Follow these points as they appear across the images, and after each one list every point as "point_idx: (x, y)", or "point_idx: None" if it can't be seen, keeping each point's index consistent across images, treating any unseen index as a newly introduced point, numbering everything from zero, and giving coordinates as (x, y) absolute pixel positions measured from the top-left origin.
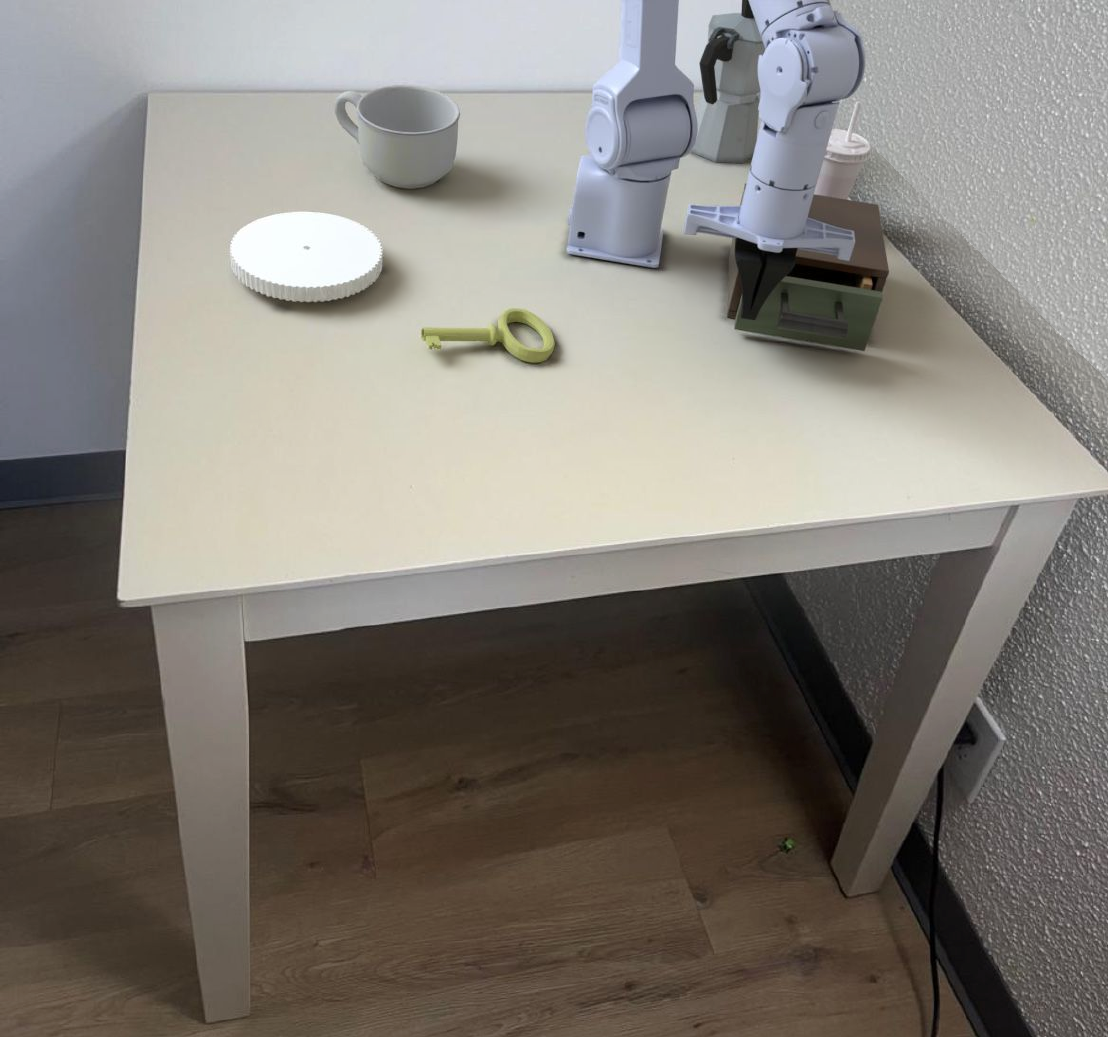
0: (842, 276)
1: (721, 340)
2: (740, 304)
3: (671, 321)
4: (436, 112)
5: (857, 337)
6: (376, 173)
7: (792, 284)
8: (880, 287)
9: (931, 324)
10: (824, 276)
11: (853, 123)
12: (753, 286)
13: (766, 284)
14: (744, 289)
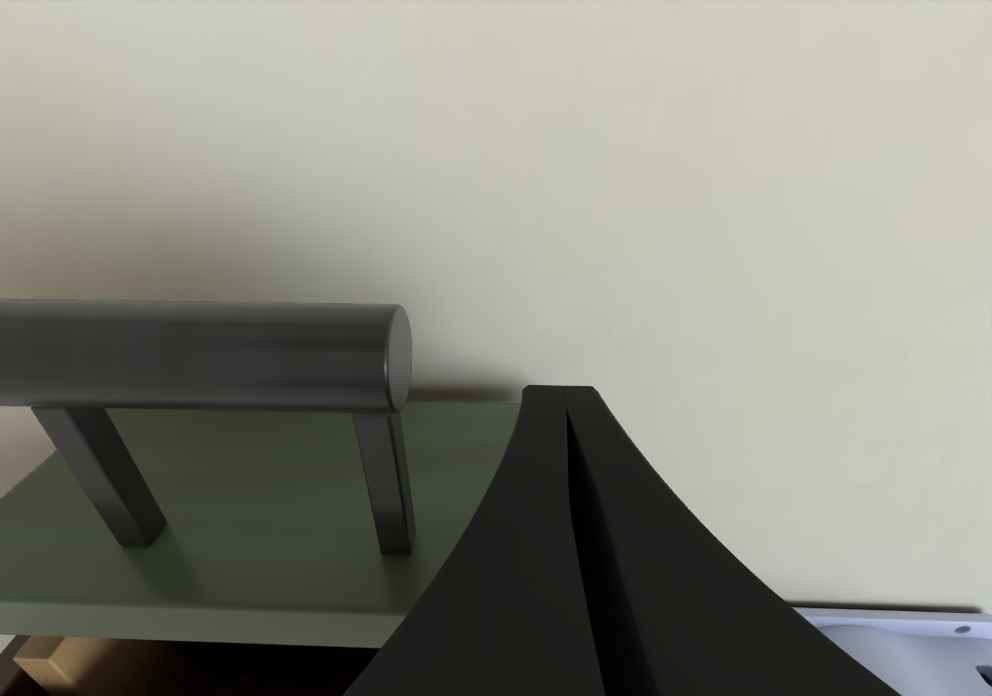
0: (216, 666)
1: (604, 362)
2: None
3: (763, 418)
4: None
5: (123, 427)
6: None
7: (356, 605)
8: (18, 647)
9: None
10: (274, 658)
11: None
12: (622, 535)
13: (528, 564)
14: (672, 506)
